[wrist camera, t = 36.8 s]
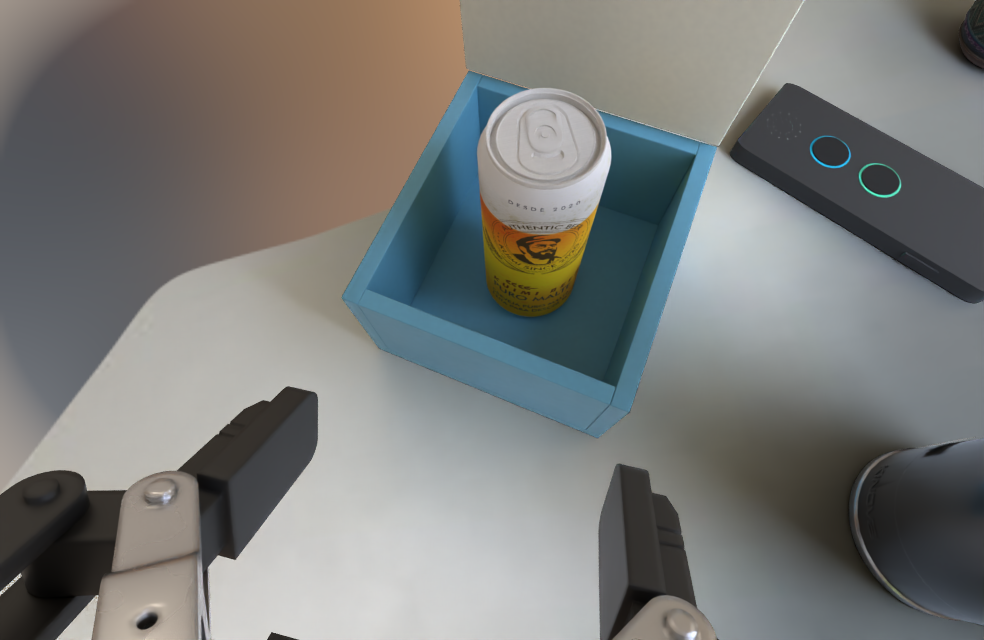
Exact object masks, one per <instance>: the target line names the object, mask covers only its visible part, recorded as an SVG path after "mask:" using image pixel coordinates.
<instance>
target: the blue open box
mask: <svg viewBox="0 0 984 640" xmlns="http://www.w3.org/2000/svg"><path fill="white" fill-rule="evenodd" d="M525 90H529V89H527V88H523V87H520V86H517V85H514V84H511V83H507V82H504V81H501V80H498V79H495V78H491V77H488V76H485V75H482V74H478V73H475V72H472V71H468V73H467V75H466V77H465V78H464V80H463V82H462V84H461V86H460V87H459V89H458V91H457V93H456V95H455V96H454V98H453V100H452V102H451V103H450V105H449V107H448V109H447V110H446V112H445V114H444V116H443V118H442V119H441V121H440V123H439V125H438V127H437V128H436V130H435V132H434V134H433V136H432V137H431V139H430V141H429V143H428V144H427V146H426V148H425V150H424V151H423V153H422V155H421V157H420V158H419V160H418V162H417V164H416V166H415V167H414V169H413V171H412V173H411V174H410V176H409V178H408V180H407V182H406V184H405V185H404V187H403V189H402V191H401V192H400V194H399V196H398V198H397V199H396V201H395V203H394V205H393V206H392V208H391V210H390V212H389V214H388V215H387V217H386V219H385V221H384V223H383V224H382V226H381V228H380V230H379V231H378V233H377V235H376V237H375V239H374V240H373V242H372V244H371V246H370V247H369V249H368V251H367V253H366V255H365V256H364V258H363V260H362V262H361V263H360V265H359V267H358V269H357V271H356V272H355V274H354V276H353V278H352V279H351V281H350V283H349V285H348V287H347V288H346V290H345V292H344V294H343V295H342V299H343V301H344V302H345V303H346V305H347V306H348V307H349V309H350V310H351V311H352V313H353V314H354V316H355V317H356V318H357V320H358V321H359V322H360V324H361V325H362V326H363V328H364V329H365V330H366V332H367V333H368V334H369V336H370V337H371V338H372V340H373V341H374V342H375V344H376V345H377V346H378V348H379V349H382V350H384V351H386V352H389V353H391V354H394V355H396V356H399V357H401V358H404V359H406V360H408V361H411V362H413V363H416V364H418V365H421V366H423V367H425V368H428V369H430V370H433V371H435V372H438V373H440V374H442V375H445V376H447V377H450V378H452V379H455V380H457V381H460V382H462V383H464V384H467V385H469V386H472V387H474V388H477V389H479V390H481V391H484V392H486V393H489V394H491V395H494V396H496V397H499V398H501V399H503V400H506V401H508V402H511V403H513V404H516V405H518V406H520V407H523V408H525V409H528V410H530V411H533V412H535V413H538V414H540V415H542V416H545V417H547V418H550V419H552V420H555V421H557V422H559V423H562V424H564V425H567V426H569V427H572V428H574V429H576V430H579V431H581V432H584V433H586V434H589V435H591V436H594V437H596V438H599V437H600V436H601V435H602V434H604V433H605V432H606V431H607V430H608V429H610V428H611V427H612V426H613V425H615V424H616V423H617V422H618V421H620V420H621V419H622V418H623V417H624V416H626V415H627V414H628V413H629V412H630V410H631V407H632V404H633V401H634V398H635V394H636V391H637V388H638V385H639V382H640V379H641V376H642V373H643V370H644V367H645V364H646V361H647V358H648V355H649V352H650V349H651V346H652V343H653V340H654V337H655V334H656V331H657V328H658V325H659V322H660V319H661V316H662V313H663V309H664V306H665V303H666V300H667V297H668V294H669V291H670V288H671V285H672V282H673V279H674V276H675V273H676V270H677V267H678V264H679V261H680V258H681V255H682V252H683V249H684V246H685V243H686V240H687V237H688V234H689V231H690V227H691V224H692V221H693V218H694V215H695V212H696V209H697V206H698V203H699V200H700V197H701V194H702V191H703V188H704V185H705V182H706V179H707V176H708V173H709V170H710V167H711V164H712V161H713V158H714V155H715V152H716V149H717V147H715V146H712V145H709V144H705V143H702V142H701V143H700V142H699V141H695V140H692V139H689V138H686V137H682V136H679V135H676V134H673V133H670V132H666V131H663V130H660V129H657V128H653V127H650V126H647V125H644V124H640V123H637V122H634V121H631V120H627V119H624V118H621V117H618V116H614V115H611V114H608V113H605V112H601V111H598V110H597V112H598V113H599V114H600V116H601V118H602V120H603V122H604V125H605V128H606V133H607V137H608V140H609V143H610V147H611V164H610V168H609V172H608V175H607V178H606V181H605V185H604V188H603V191H602V194H601V198H600V201H599V204H598V208H597V211H596V214H595V217H594V221H593V224H592V227H591V230H590V234H589V237H588V240H587V244H586V247H585V250H584V253H583V257H582V260H581V263H580V266H579V270H578V273H577V276H576V280H575V283H574V286H573V289H572V292H571V294H570V296H569V297H568V299H567V300H566V301H565V303H564V304H563V305H562V306H560V307H559V308H558V309H556V310H555V311H553V312H551V313H549V314H546V315H542V316H536V317H525V316H520V315H516V314H513V313H511V312H509V311H507V310H505V309H504V308H502V307H501V306H500V305H499V304H498V303H497V302H496V301H495V300H494V299H493V297H492V295H491V294H490V292H489V289H488V286H487V282H486V270H485V256H484V242H483V228H482V215H481V201H480V187H479V174H478V160H477V147H478V142H479V139H480V136H481V134H482V132H483V130H484V128H485V127H486V126H487V123H488V120H489V118H490V116H491V114H492V113H493V111H494V110H495V109H496V108H497V107H498V106H499V105H500V104H501V103H502V102H503V101H504V100H506V99H507V98H509V97H511V96H512V95H514V94H517V93H519V92H522V91H525Z"/></svg>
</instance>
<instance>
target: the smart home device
mask: <svg viewBox="0 0 984 640" xmlns="http://www.w3.org/2000/svg"><path fill="white" fill-rule="evenodd" d="M730 155H731V157H732V158H733V159H734V160H735V161H736V162H738V163H739V164H741V165H742V166H744V167H746V168H747V169H749V170H751V171H752V172H754V173H756V174H757V175H759V176H760V177H762V178H764V179H765V180H767V181H769V182H770V183H772V184H774V185H775V186H777V187H779V188H780V189H782V190H783V191H785V192H787V193H788V194H790V195H792V196H793V197H795V198H797V199H798V200H800V201H801V202H803V203H805V204H806V205H808V206H810V207H811V208H813V209H815V210H816V211H818V212H819V213H821V214H823V215H824V216H826V217H828V218H829V219H831V220H833V221H834V222H836V223H838V224H839V225H841V226H842V227H844V228H846V229H847V230H849V231H851V232H852V233H854V234H856V235H857V236H859V237H860V238H862V239H864V240H865V241H867V242H869V243H870V244H872V245H874V246H875V247H877V248H878V249H880V250H882V251H883V252H885V253H887V254H888V255H890V256H892V257H893V258H895V259H897V260H898V261H900V262H901V263H903V264H905V265H906V266H908V267H910V268H911V269H913V270H915V271H916V272H918V273H919V274H921V275H923V276H924V277H926V278H928V279H929V280H931V281H933V282H934V283H936V284H937V285H939V286H941V287H942V288H944V289H946V290H947V291H949V292H951V293H952V294H954V295H955V296H957V297H959V298H961V299H963V300H965V301H967V302H970V303H978V302H981V301H983V300H984V188H983V187H981V186H979V185H977V184H976V183H974V182H972V181H970V180H968V179H967V178H965V177H963V176H961V175H959V174H957V173H956V172H954V171H952V170H950V169H948V168H947V167H945V166H943V165H941V164H939V163H937V162H936V161H934V160H932V159H930V158H928V157H927V156H925V155H923V154H921V153H919V152H918V151H916V150H914V149H912V148H910V147H908V146H907V145H905V144H903V143H901V142H899V141H898V140H896V139H894V138H892V137H890V136H888V135H887V134H885V133H883V132H881V131H879V130H878V129H876V128H874V127H872V126H870V125H868V124H867V123H865V122H863V121H861V120H859V119H858V118H856V117H854V116H852V115H850V114H849V113H847V112H845V111H843V110H841V109H839V108H838V107H836V106H834V105H832V104H830V103H829V102H827V101H825V100H823V99H821V98H819V97H818V96H816V95H814V94H812V93H810V92H809V91H807V90H805V89H803V88H801V87H799V86H797V85H794V84H790V83H786V84H785V85H784V86H783V87H782V88H781V90H780V91H779V92H778V93H777V94H776V95H775V97H774V98H773V99H772V100H771V101H770V102H769V104H768V105H767V106H766V107H765V108H764V109H763V111H762V112H761V113H760V114H759V115H758V116H757V118H756V119H755V120H754V121H753V122H752V124H751V125H750V126H749V127H748V128H747V129H746V131H745V132H744V133H743V134H742V135H741V136H740V138H739V139H738V140H737V142H736V144H735V145H734V147H733V148H732V150H731V152H730Z"/></svg>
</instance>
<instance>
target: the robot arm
mask: <svg viewBox="0 0 984 640" xmlns="http://www.w3.org/2000/svg"><path fill="white" fill-rule="evenodd" d="M973 438H974V437H973ZM967 439H969V438H967ZM317 440H318V397H317V394H316V393H315V392H311V391H307V390H302V389H298V388H294V387H289V386H288V387H286V388H284V389H283V390H282V391H281V392H280V393H279V394H278V395H277V396H276V397H275V398H274V399H273V400H272V401H271V402H269V401H264V400H263V401H260V402H258V403H256V404H254V405H252V406H250V407H248V408H246V409H244V410H243V411H242V412H241V413H239V414H238V415H237V416H236V417H235V418H234V419H233V420H232V421H231V423H230V424H227V425H226V426H225V427H224V428H223V429H222V430H221V431H220V433H219V435H218V434H217V435H215V436H214V437H213V438H212V439H211V440H210V441H209V442H208V443H207V444H206V445H205V446H203V447H202V448H201V449H200V450H199V451H198V452H197V453H196V454H195V455H194V456H192V457H191V458H190V459H189V460H188V461H187V462H186V463H185V464H184V465H183V466H182V467H180V468H179V469H178V470H177V471H165V472H160V473H156V474H152V475H150V476H147V477H145V478H143V479H141V480H139V481H138V482H136V483H135V484H133V485H132V486H131V487H130V488H129V489H128V490H114V491H87V488H86V484H85V480H84V478H83V477H82V476H81V475H80V474H78V473H76V472H72V471H66V470H58V471H49V472H44V473H40V474H37V475H34V476H31V477H28V478H26V479H24V480H22V481H20V482H18V483H16V484H15V485H13V486H12V487H10V488H9V489H8V490H6V491H5V492H3V493H2V494H1V495H0V591H1V590H2V589H3V588H4V587H6V586H7V585H8V584H9V583H10V582H11V581H12V580H13V579H14V578H15V577H17V576H18V575H19V574H20V573H21V575H22V577H21V578H19V579H18V580H17V581H16V582H15V583H14V584H13V585H12V586H11V587H10V588H9V589H8V590H6V591H5V592H4V593H3V594H2V595H1V596H0V640H56V639H57V638H58V636H59V635H60V634H61V633H62V632H63V631H64V630H65V629H66V628H67V627H68V625H69V624H70V623H71V622H72V621H73V620H74V619H75V618H76V617H77V615H78V614H79V613H80V612H81V611H82V610H83V609H84V608H85V607H86V606H87V604H88V603H89V602H90V601H91V600H92V599H93V598H94V597H95V596H96V595H99V596H98V603H97V609H96V615H95V621H94V628H93V634H92V640H211V613H210V585H209V569H208V566H209V565H210V564H211V563H212V561H213V560H214V559H215V558H216V557H217V555H219V556H223V557H227V558H230V559H234V560H236V558H237V557H238V556H239V554H240V553H241V552H242V550H243V549H244V548H245V546H246V545H247V544H248V543H249V541H250V540H251V539H252V537H253V536H254V535H255V533H256V532H257V531H258V529H259V528H260V527H261V525H262V524H263V523H264V522H265V520H266V519H267V518H268V516H269V515H270V514H271V512H272V511H273V510H274V508H275V507H276V506H277V504H278V503H279V502H280V500H281V499H282V498H283V497H284V495H285V494H286V493H287V491H288V490H289V489H290V487H291V486H292V485H293V483H294V482H295V481H296V479H297V478H298V477H299V475H300V474H301V473H302V472H303V470H304V469H305V468H306V466H307V465H308V464H309V462H310V461H311V459H312V457H313V455H314V452H315V450H316V446H317ZM961 440H964V439H961ZM955 441H959V440H955ZM950 442H954V441H950ZM945 443H948V442H945ZM940 444H943V443H940ZM935 445H936V446H933V445H929V446H930V447H927V446H924V448H920V447H919V448H907V449H901V450H895V451H891V452H887V453H885V454H882V455H880V456H878V457H876V458H875V459H873V460H872V461H871V462H869V463H868V464H867V465H866V466H865V467H864V468H863V469H862V471H861V472H860V473H859V475H858V476H857V478H856V480H855V482H854V485H853V487H852V490H851V495H850V500H849V521H850V527H851V531H852V535H853V538H854V541H855V544H856V546H857V549H858V551H859V553H860V555H861V557H862V559H863V560H864V562H865V564H866V565H867V567H868V568H869V570H870V571H871V572H872V574H873V575H874V576H875V578H876V579H877V580H878V581H879V582H880V583H881V584H882V585H883V586H884V587H885V588H886V589H887V590H888V591H889V592H890V593H892V594H893V595H894V596H895V597H897V598H898V599H899V600H901V601H902V602H904V603H906V604H907V605H909V606H911V607H912V608H915V609H917V610H919V611H921V612H924V613H926V614H929V615H933V616H937V617H941V618H945V619H950V620H957V621H967V622H971V623H976V624H980V625H984V438H981V439H975V440H969V441H963V442H956V443H949V444H943V445H938V444H935ZM599 602H600V640H719V639H717V638H716V634H715V631H714V629H713V627H712V625H711V624H710V622H709V621H708V619H707V618H706V617H705V616H704V615H703V613H702V612H701V611H699V610H698V609H697V605H696V601H695V596H694V591H693V586H692V581H691V576H690V571H689V566H688V561H687V556H686V551H685V550H684V541H683V537H682V535H681V527H680V522H679V517H678V513H677V512H676V510H675V509H674V507H673V506H672V504H671V503H670V501H669V500H668V498H667V497H666V496H664V495H660V494H655V493H652V492H651V485H650V478H649V473H648V471H647V470H644V469H640V468H635V467H631V466H627V465H622V464H617V465H616V467H615V470H614V473H613V476H612V479H611V482H610V486H609V489H608V492H607V495H606V498H605V501H604V504H603V508H602V511H601V516H600V522H599ZM267 640H297V639H294V638H290V637H287V636H283V635H280V634H276V633H273V632H271V634H270V636H269V637H268V639H267Z"/></svg>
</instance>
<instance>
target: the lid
mask: <svg viewBox="0 0 984 640" xmlns="http://www.w3.org/2000/svg"><path fill="white" fill-rule="evenodd" d="M804 1H805V0H460V8H461V19H462V30H463V40H464V51H465V60H466V68H467V69H469V70H473V71H476V72H479V73H482V74H486V75H489V76H492V77H496V78H499V79H502V80H505V81H509V82H512V83H515V84H518V85H521V86H525V87H528V88H531V89H535V88H555V89H561V90H565V91H568V92H571V93H573V94H576V95H578V96H580V97H581V98H583V99H585V100H586V101H587V102H589V103H590V104H591V105H592V106H593V107H594V108H596V109H599V110H602V111H606V112H609V113H612V114H615V115H619V116H622V117H625V118H628V119H632V120H635V121H638V122H641V123H645V124H648V125H651V126H654V127H658V128H661V129H664V130H667V131H671V132H674V133H677V134H680V135H684V136H687V137H690V138H693V139H696V140H700V141H703V142H706V143H709V144H713V145H716V146H719V145H720V143H721V141H722V140H723V138H724V136H725V135H726V133H727V131H728V129H729V128H730V126H731V124H732V123H733V121H734V119H735V118H736V116H737V114H738V113H739V111H740V109H741V107H742V106H743V104H744V102H745V101H746V99H747V97H748V96H749V94H750V92H751V90H752V89H753V87H754V85H755V84H756V82H757V80H758V79H759V77H760V75H761V73H762V72H763V70H764V68H765V67H766V65H767V63H768V62H769V60H770V58H771V57H772V55H773V53H774V51H775V50H776V48H777V46H778V45H779V43H780V41H781V40H782V38H783V36H784V34H785V33H786V31H787V29H788V28H789V26H790V24H791V23H792V21H793V19H794V17H795V16H796V14H797V12H798V11H799V9H800V7H801V6H802V4H803V2H804Z"/></svg>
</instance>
